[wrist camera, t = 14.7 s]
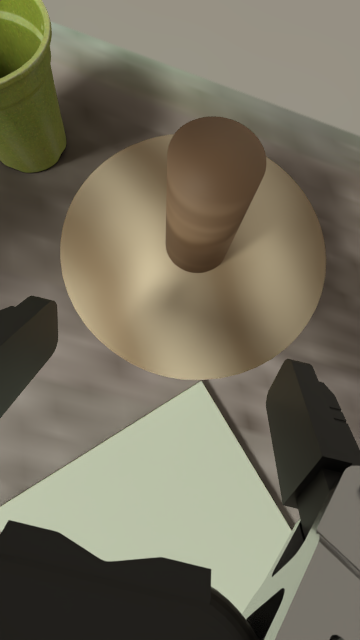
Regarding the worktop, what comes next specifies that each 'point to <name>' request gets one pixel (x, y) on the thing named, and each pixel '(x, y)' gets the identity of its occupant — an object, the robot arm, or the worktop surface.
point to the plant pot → (28, 89)
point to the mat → (166, 498)
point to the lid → (193, 253)
